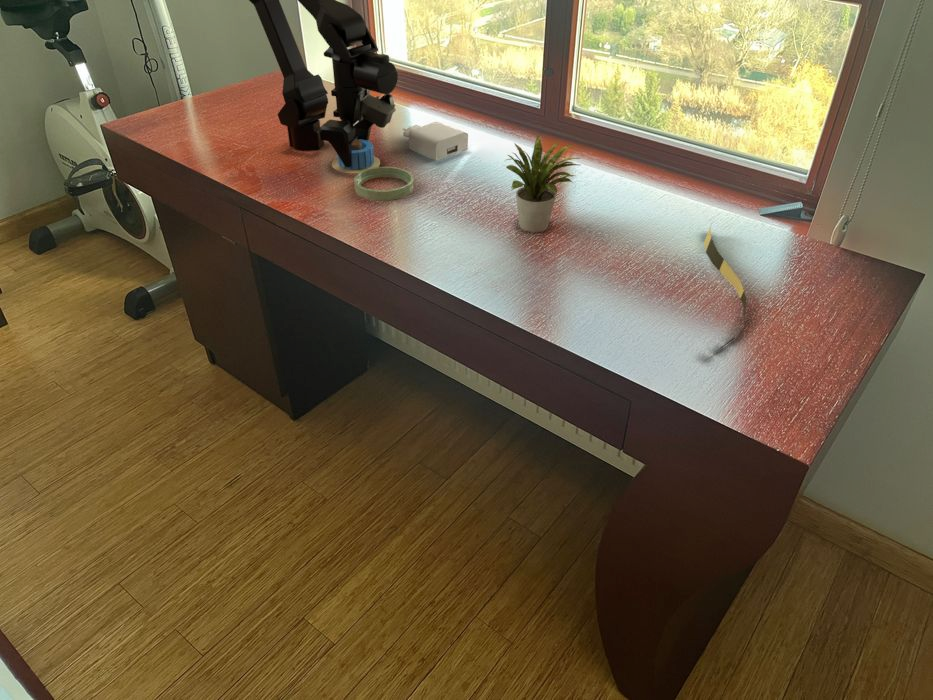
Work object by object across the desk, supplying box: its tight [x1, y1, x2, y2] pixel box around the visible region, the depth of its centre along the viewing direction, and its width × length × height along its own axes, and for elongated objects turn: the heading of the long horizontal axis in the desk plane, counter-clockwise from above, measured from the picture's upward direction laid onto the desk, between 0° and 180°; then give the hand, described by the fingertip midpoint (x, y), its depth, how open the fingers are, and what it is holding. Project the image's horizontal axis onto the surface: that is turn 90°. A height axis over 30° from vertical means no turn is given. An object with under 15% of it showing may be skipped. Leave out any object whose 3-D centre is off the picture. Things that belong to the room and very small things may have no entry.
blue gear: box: [336, 139, 375, 170], centre depth 153 cm, size 7×7×4 cm
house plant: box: [503, 134, 581, 233], centre depth 129 cm, size 14×14×16 cm
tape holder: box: [331, 140, 381, 174], centre depth 153 cm, size 10×10×5 cm
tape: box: [703, 220, 748, 358], centre depth 116 cm, size 6×38×4 cm, turn 166°
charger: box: [402, 121, 469, 162], centre depth 161 cm, size 5×9×15 cm
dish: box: [353, 166, 415, 202], centre depth 145 cm, size 11×11×3 cm
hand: (355, 159), depth 154 cm, fingers closed on blue gear, 7 cm apart
